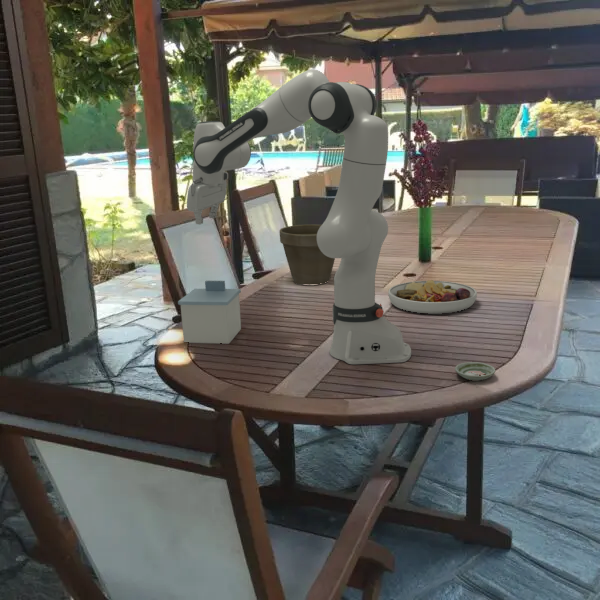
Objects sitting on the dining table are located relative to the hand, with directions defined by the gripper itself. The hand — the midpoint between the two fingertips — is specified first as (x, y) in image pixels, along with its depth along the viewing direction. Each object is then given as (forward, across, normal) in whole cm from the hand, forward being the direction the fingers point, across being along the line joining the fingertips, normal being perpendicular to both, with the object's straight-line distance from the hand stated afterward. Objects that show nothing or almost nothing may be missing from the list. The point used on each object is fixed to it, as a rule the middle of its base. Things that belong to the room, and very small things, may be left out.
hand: (206, 221), depth 198 cm
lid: (+21, -9, -6) cm, 24 cm away
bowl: (+27, +38, -69) cm, 83 cm away
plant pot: (+35, +62, -19) cm, 74 cm away
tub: (+33, -10, -8) cm, 35 cm away
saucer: (+22, -26, -86) cm, 93 cm away
